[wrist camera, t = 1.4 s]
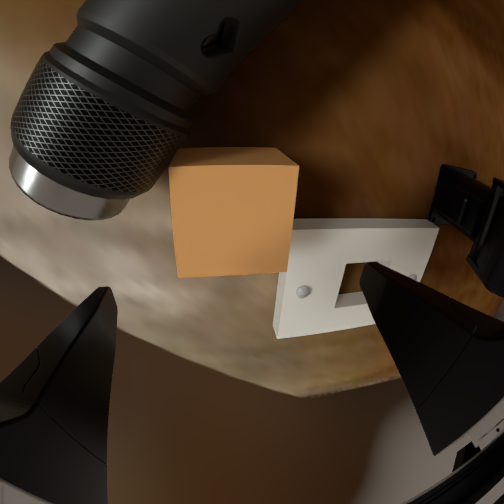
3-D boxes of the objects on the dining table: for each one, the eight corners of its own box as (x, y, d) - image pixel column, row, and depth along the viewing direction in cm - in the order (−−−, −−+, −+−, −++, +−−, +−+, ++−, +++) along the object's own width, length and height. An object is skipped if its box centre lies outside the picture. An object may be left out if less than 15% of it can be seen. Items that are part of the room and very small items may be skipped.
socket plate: (427, 219, 26) (441, 229, 24) (396, 307, 32) (405, 319, 30) (285, 218, 23) (293, 231, 21) (272, 325, 29) (277, 341, 27)
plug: (268, 142, 20) (299, 166, 14) (263, 221, 23) (286, 271, 17) (179, 143, 19) (168, 167, 13) (183, 224, 22) (178, 277, 16)
